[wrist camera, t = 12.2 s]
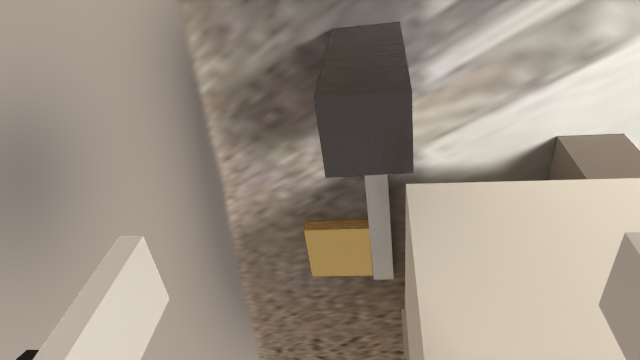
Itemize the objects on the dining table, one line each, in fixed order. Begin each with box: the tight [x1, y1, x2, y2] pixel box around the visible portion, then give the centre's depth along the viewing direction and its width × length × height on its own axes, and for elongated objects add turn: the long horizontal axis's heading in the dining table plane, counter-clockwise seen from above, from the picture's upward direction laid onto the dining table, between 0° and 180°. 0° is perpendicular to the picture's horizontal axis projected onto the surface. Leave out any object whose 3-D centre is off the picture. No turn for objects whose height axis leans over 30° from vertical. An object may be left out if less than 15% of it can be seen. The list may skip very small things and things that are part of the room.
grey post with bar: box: [314, 22, 413, 280], centre depth 28 cm, size 20×4×10 cm, turn 8°
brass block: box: [304, 220, 373, 276], centre depth 37 cm, size 5×5×2 cm
